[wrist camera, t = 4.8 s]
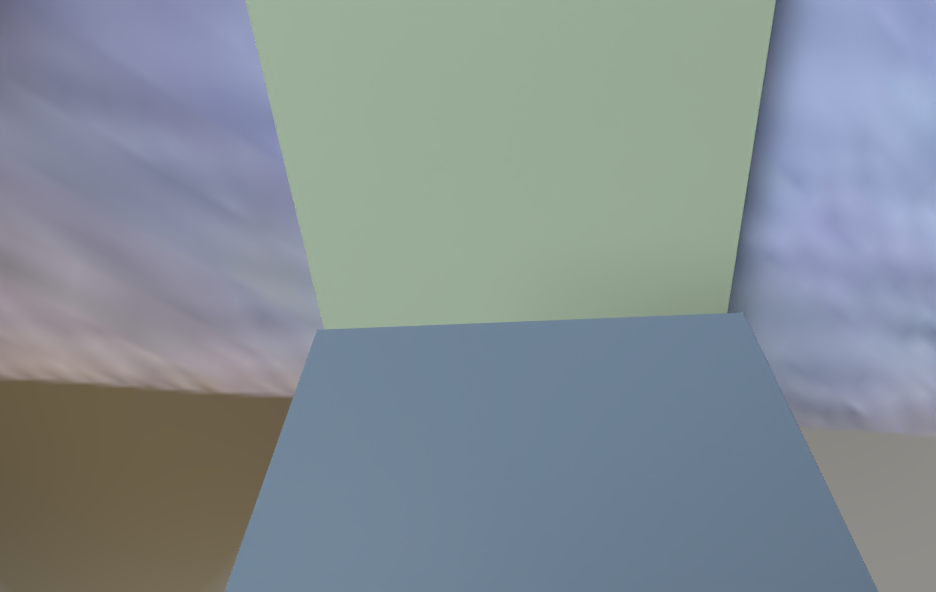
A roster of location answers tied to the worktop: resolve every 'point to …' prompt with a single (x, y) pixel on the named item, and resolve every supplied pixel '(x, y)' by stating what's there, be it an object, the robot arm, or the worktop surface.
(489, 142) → the green block
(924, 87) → the worktop surface
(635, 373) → the blue block
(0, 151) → the worktop surface
